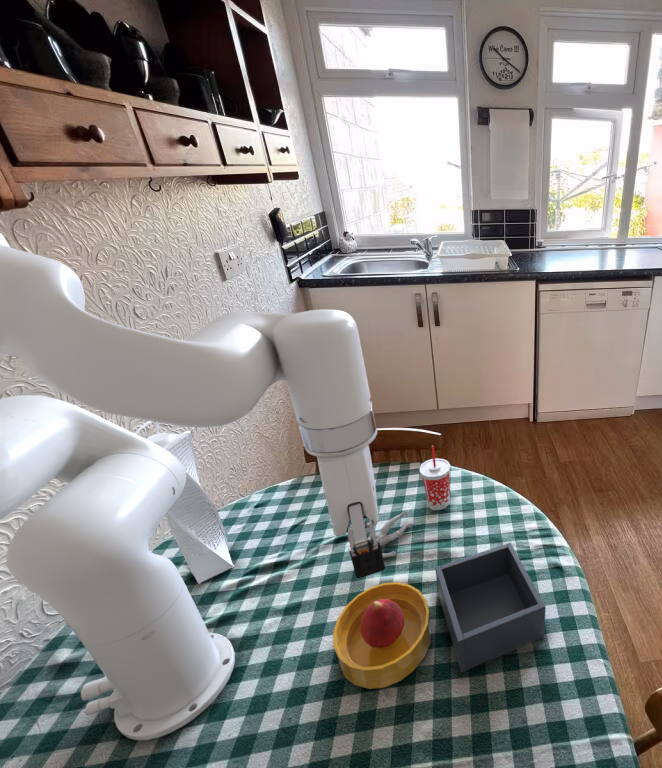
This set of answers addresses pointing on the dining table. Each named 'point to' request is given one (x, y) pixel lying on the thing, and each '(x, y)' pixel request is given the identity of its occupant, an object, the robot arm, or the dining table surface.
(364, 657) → the bowl
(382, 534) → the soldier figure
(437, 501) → the beverage cup
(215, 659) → the robot arm
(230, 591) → the dining table surface
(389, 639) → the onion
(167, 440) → the skyscraper
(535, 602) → the bin
